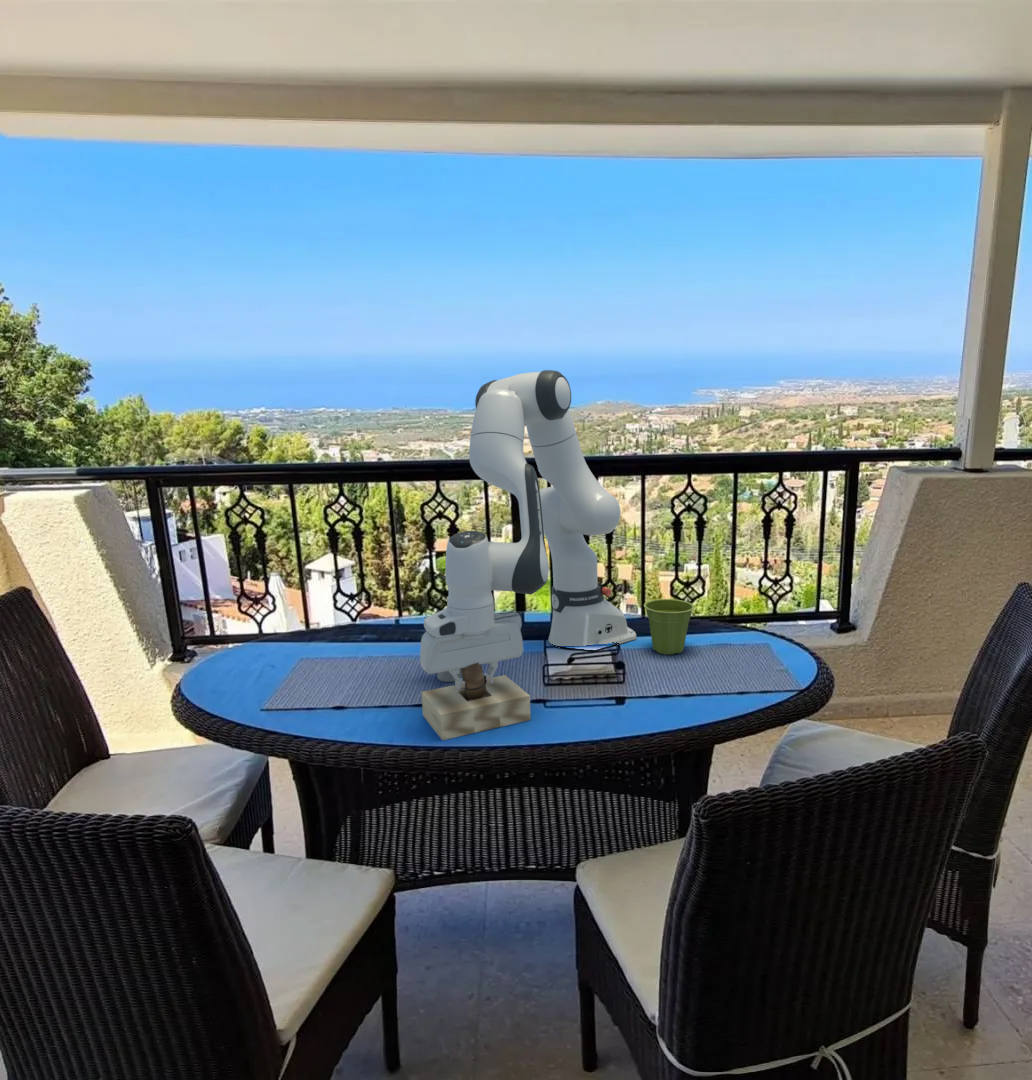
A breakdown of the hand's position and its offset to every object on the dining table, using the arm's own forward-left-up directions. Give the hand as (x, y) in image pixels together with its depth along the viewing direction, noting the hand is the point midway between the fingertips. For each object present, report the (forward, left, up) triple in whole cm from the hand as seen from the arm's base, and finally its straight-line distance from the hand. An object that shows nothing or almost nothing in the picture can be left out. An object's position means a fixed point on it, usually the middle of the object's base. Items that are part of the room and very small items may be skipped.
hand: (474, 685), depth 141 cm
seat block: (0, 0, -7) cm, 7 cm away
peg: (-1, 0, -5) cm, 5 cm away
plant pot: (-55, -13, -7) cm, 57 cm away
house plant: (-1, -22, -7) cm, 23 cm away
